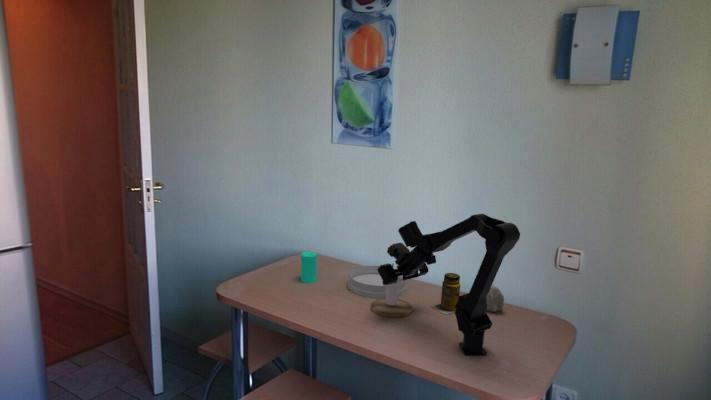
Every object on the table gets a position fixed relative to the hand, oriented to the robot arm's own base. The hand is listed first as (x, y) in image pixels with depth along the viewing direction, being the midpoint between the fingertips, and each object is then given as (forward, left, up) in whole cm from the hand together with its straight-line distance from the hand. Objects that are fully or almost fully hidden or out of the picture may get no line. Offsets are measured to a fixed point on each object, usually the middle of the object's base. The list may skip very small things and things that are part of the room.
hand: (390, 281), depth 168 cm
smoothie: (-1, -1, -7) cm, 7 cm away
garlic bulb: (0, -35, -9) cm, 36 cm away
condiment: (0, -20, -10) cm, 22 cm away
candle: (+25, +28, -9) cm, 39 cm away
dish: (+19, +2, -10) cm, 22 cm away
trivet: (-1, -1, -9) cm, 9 cm away
